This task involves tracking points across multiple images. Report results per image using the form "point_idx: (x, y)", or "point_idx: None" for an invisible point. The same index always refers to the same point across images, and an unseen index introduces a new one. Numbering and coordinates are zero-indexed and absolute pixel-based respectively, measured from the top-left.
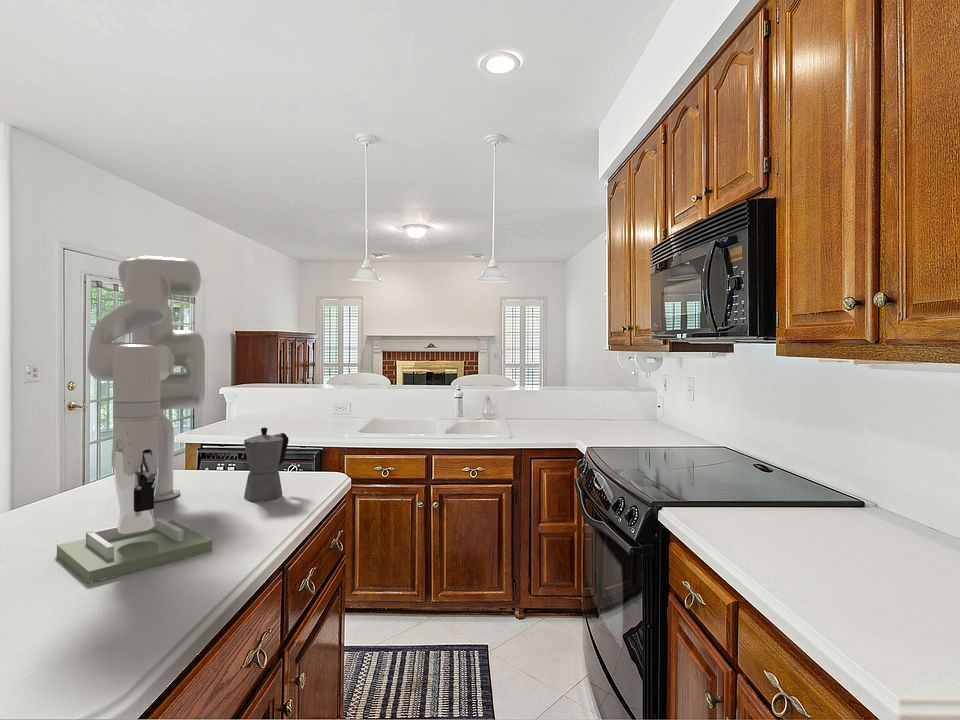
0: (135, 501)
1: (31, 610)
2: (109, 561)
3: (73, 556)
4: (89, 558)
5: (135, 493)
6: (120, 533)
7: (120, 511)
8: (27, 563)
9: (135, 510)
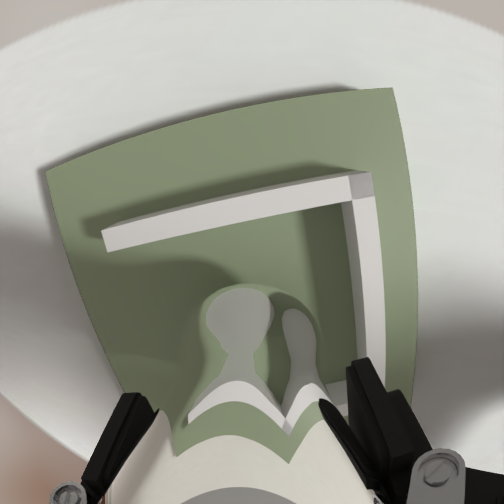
0: (106, 431)
1: (3, 78)
2: (94, 225)
3: (212, 120)
4: (155, 169)
5: (91, 466)
6: (215, 291)
7: (233, 343)
8: (349, 24)
9: (125, 397)
